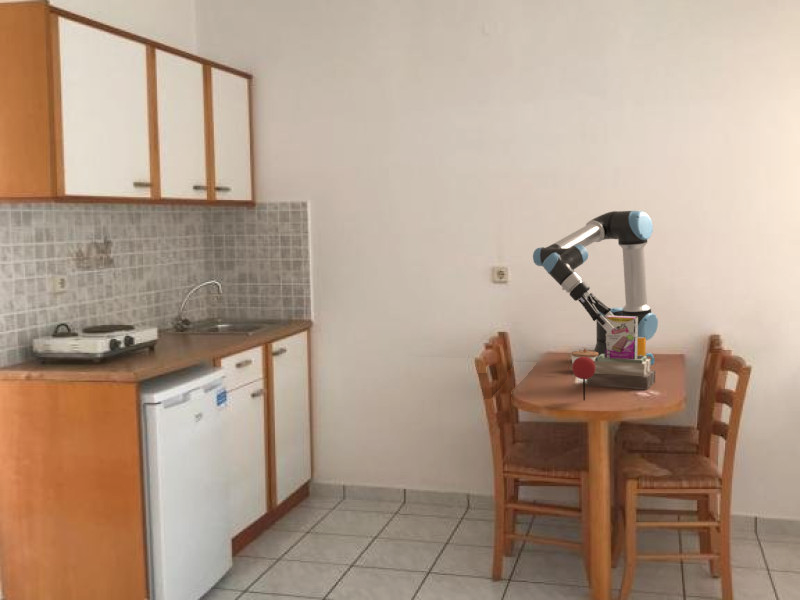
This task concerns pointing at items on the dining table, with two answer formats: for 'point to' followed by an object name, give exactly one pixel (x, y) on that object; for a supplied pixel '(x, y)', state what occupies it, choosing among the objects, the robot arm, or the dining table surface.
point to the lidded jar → (584, 354)
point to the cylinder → (643, 349)
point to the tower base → (622, 381)
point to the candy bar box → (622, 337)
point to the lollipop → (583, 369)
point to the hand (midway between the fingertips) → (615, 328)
